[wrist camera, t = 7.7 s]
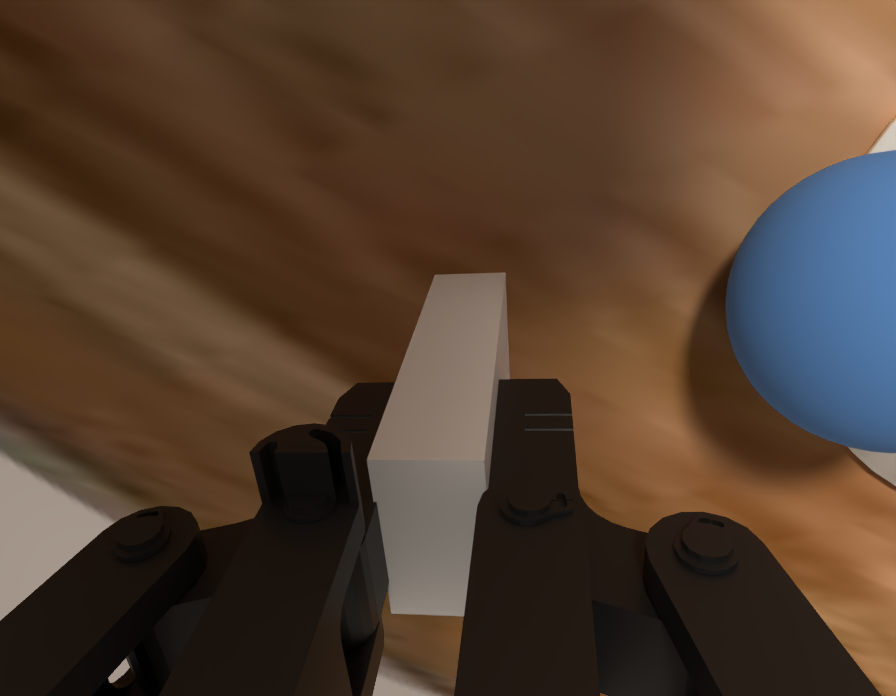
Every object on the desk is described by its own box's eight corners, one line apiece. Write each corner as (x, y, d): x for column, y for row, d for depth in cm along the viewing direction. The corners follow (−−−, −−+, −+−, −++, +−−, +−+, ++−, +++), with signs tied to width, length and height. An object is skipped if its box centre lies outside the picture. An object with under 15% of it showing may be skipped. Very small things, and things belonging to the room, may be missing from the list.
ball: (1269, 193, 9) (1048, 172, 14) (801, 121, 10) (758, 127, 15) (1067, 555, 10) (938, 419, 15) (696, 455, 12) (689, 359, 17)
